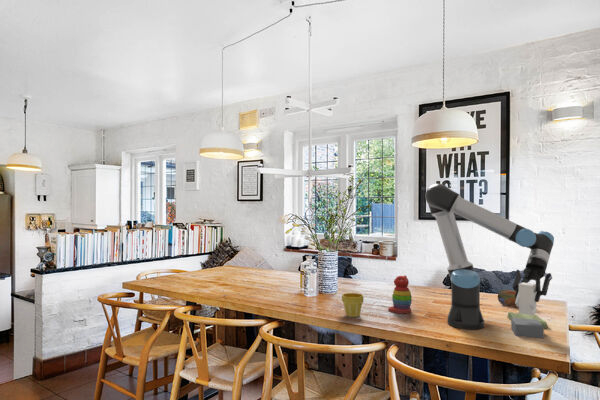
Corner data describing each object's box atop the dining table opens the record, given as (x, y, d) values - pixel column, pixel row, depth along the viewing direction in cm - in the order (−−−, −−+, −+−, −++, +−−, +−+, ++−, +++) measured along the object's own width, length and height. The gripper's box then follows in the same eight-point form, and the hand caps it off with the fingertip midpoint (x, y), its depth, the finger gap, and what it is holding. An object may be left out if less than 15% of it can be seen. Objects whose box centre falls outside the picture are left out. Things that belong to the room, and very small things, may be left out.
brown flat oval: (497, 304, 212) (497, 288, 212) (499, 303, 215) (499, 288, 215) (529, 309, 202) (529, 293, 202) (530, 308, 204) (530, 292, 205)
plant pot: (338, 313, 194) (338, 293, 194) (356, 311, 198) (356, 291, 198) (348, 319, 184) (348, 298, 184) (367, 316, 188) (367, 296, 188)
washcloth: (535, 318, 187) (535, 311, 187) (549, 330, 170) (549, 322, 170) (505, 316, 191) (505, 309, 191) (516, 327, 173) (515, 320, 173)
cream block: (532, 315, 161) (531, 285, 161) (519, 312, 165) (518, 283, 165) (536, 313, 164) (536, 284, 164) (523, 310, 168) (523, 282, 168)
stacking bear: (401, 307, 206) (401, 273, 206) (416, 311, 197) (416, 276, 198) (386, 310, 200) (386, 275, 200) (401, 315, 191) (401, 278, 192)
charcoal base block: (515, 336, 161) (515, 324, 161) (511, 329, 171) (511, 317, 171) (543, 339, 158) (543, 326, 158) (537, 331, 167) (537, 319, 167)
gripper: (563, 269, 168) (551, 315, 157) (517, 265, 182) (503, 307, 170) (559, 258, 165) (547, 304, 153) (513, 254, 178) (498, 296, 167)
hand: (524, 306), depth 162 cm, fingers closed on cream block, 5 cm apart
